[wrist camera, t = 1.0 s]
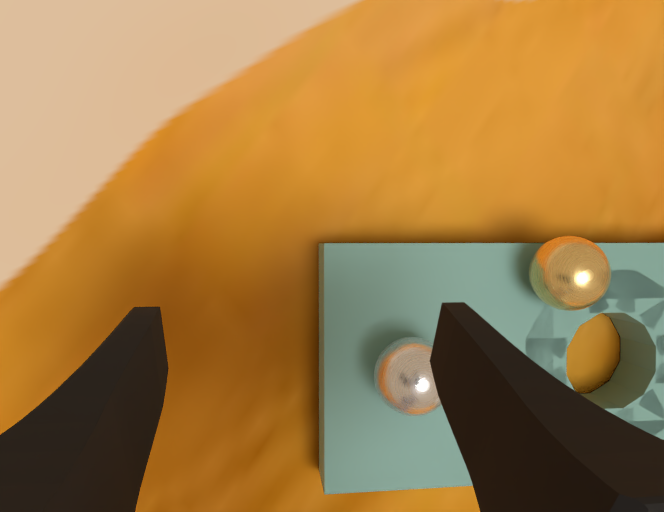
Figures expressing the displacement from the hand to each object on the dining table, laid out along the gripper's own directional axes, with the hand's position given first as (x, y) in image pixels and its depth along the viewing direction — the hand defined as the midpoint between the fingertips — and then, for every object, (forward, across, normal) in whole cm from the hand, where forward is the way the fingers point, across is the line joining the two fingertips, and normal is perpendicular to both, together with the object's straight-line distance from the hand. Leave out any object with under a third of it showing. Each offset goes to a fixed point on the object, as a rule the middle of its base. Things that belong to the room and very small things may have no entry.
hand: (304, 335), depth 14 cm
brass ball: (+7, -12, +3) cm, 14 cm away
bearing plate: (+8, -11, +8) cm, 16 cm away
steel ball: (+5, -5, +6) cm, 10 cm away
